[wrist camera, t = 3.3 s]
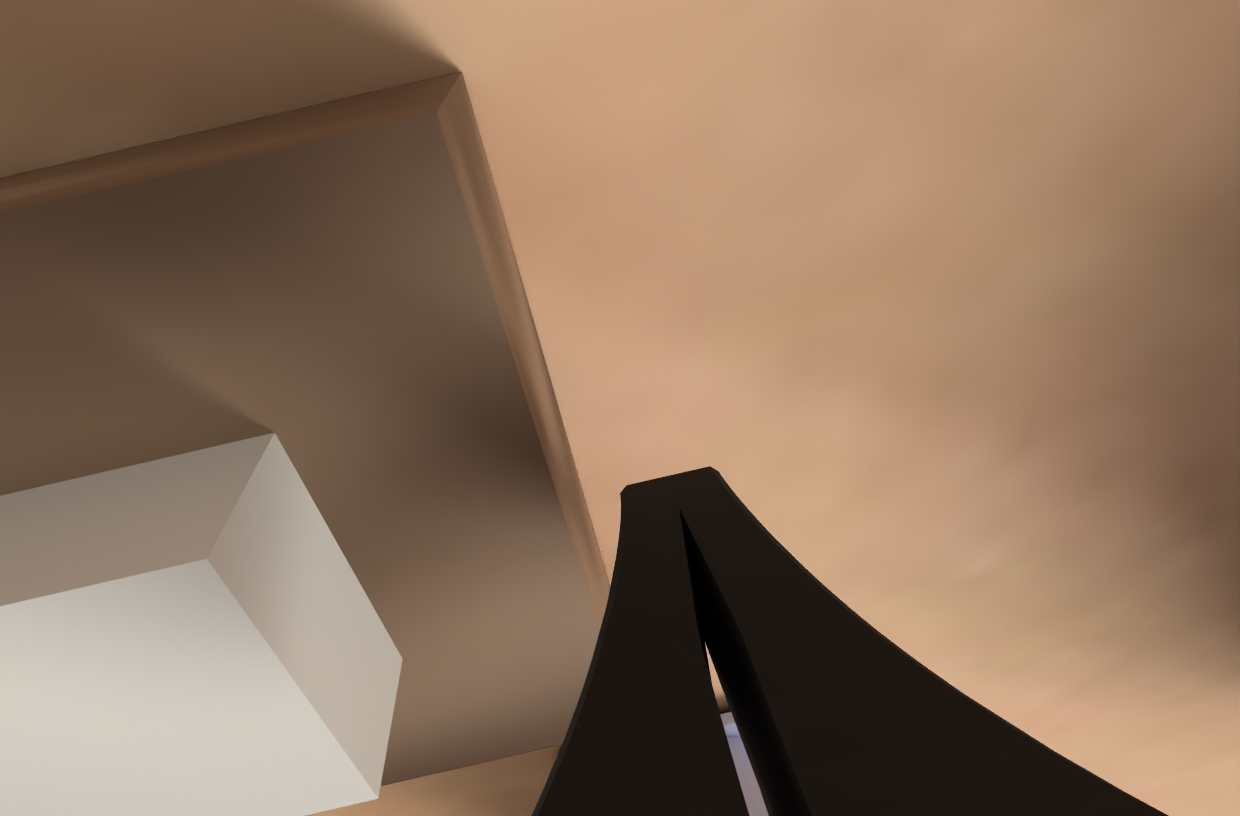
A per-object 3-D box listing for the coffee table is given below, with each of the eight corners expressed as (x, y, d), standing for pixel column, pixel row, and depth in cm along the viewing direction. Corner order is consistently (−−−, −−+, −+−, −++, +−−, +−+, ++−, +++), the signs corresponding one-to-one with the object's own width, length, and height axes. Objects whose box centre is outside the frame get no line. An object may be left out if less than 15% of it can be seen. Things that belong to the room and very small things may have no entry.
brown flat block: (609, 584, 18) (630, 728, 14) (185, 682, 18) (106, 848, 14) (462, 71, 11) (436, 113, 8) (-205, 225, 11) (-515, 331, 8)
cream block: (402, 659, 12) (378, 798, 10) (128, 722, 12) (48, 874, 10) (273, 432, 10) (207, 558, 8) (-75, 513, 10) (-239, 662, 8)
